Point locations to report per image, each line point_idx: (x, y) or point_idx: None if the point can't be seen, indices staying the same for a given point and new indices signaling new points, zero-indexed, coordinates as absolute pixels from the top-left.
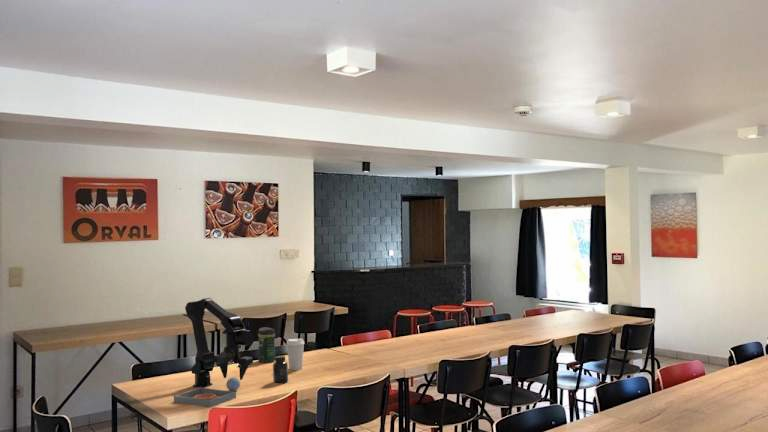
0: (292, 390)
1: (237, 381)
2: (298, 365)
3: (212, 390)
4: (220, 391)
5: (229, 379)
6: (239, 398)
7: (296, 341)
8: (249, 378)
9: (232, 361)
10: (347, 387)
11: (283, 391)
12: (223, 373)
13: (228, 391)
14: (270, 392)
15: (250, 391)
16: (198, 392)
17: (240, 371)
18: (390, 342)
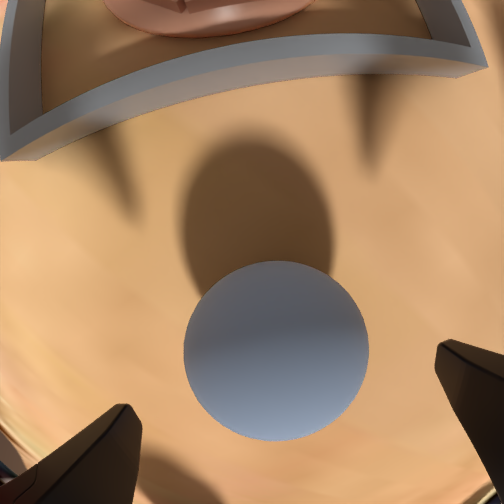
0: (25, 445)
1: (191, 386)
2: None
3: (316, 39)
4: (179, 63)
5: (302, 344)
6: (8, 169)
7: None
8: (402, 487)
9: None
10: (7, 482)
11: (23, 426)
12: (491, 368)
13: (58, 106)
14: (30, 396)
15: (123, 372)
16: (440, 31)
17: (32, 484)
18: None
